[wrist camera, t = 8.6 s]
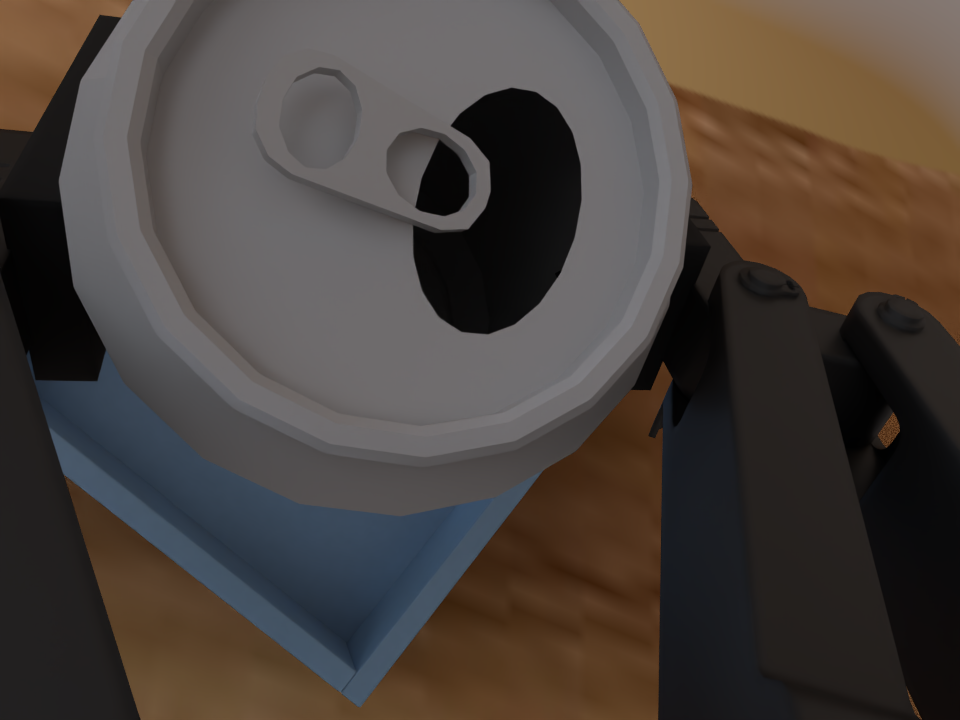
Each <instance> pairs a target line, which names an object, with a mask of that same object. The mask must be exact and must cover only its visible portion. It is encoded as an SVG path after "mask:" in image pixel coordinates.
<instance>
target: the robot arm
mask: <svg viewBox="0 0 960 720" xmlns="http://www.w3.org/2000/svg"><path fill="white" fill-rule="evenodd" d="M120 19H121V18H120V17H112V16H104V15H100V16H99V17H98V19H97V21H96V23H95V24H94V26H93V28H92V30H91V31H90V33H89V35H88V37H87V38H86V40H85V42H84V44H83V45H82V47H81V49H80V51H79V52H78V54H77V56H76V58H75V60H74V61H73V63H72V65H71V67H70V68H69V70H68V72H67V74H66V75H65V77H64V79H63V81H62V82H61V84H60V86H59V88H58V89H57V91H56V93H55V95H54V96H53V98H52V100H51V102H50V103H49V105H48V107H47V109H46V110H45V112H44V114H43V116H42V117H41V119H40V121H39V123H38V124H37V126H36V128H35V130H34V131H33V132H27V131H15V130H4V129H0V720H140V717H139V714H138V711H137V708H136V704H135V701H134V698H133V695H132V692H131V688H130V685H129V682H128V679H127V676H126V672H125V669H124V666H123V663H122V660H121V656H120V653H119V650H118V647H117V644H116V641H115V637H114V634H113V631H112V628H111V625H110V621H109V618H108V615H107V612H106V609H105V605H104V602H103V599H102V596H101V593H100V589H99V586H98V583H97V580H96V577H95V574H94V570H93V567H92V564H91V561H90V558H89V554H88V551H87V548H86V545H85V542H84V538H83V535H82V532H81V529H80V526H79V522H78V519H77V516H76V513H75V510H74V506H73V503H72V500H71V497H70V494H69V491H68V487H67V484H66V481H65V478H64V475H63V471H62V468H61V465H60V462H59V459H58V455H57V452H56V449H55V446H54V443H53V439H52V436H51V433H50V430H49V427H48V424H47V420H46V417H45V414H44V411H43V408H42V404H41V401H40V398H39V395H38V392H37V388H36V385H35V382H34V379H33V376H32V372H31V369H30V366H29V363H28V360H27V357H26V355H27V353H28V350H29V353H30V357H31V362H32V366H33V371H34V375H35V380H42V381H98V377H99V374H100V370H101V367H102V363H103V359H104V356H105V352H106V348H105V346H104V344H103V342H102V340H101V338H100V336H99V335H98V333H97V331H96V329H95V327H94V325H93V323H92V321H91V319H90V317H89V315H88V313H87V312H86V310H85V308H84V306H83V304H82V302H81V300H80V298H79V296H78V294H77V292H76V291H75V289H74V287H73V280H72V272H71V265H70V258H69V251H68V244H67V237H66V230H65V223H64V216H63V208H62V201H61V194H60V187H59V177H60V173H61V168H62V164H63V159H64V155H65V150H66V145H67V141H68V136H69V132H70V127H71V123H72V118H73V113H74V109H75V104H76V100H77V95H78V91H79V86H80V81H81V79H82V78H83V76H84V75H85V73H86V72H87V70H88V68H89V67H90V65H91V64H92V62H93V61H94V59H95V58H96V56H97V55H98V53H99V52H100V50H101V48H102V47H103V45H104V44H105V42H106V41H107V39H108V38H109V36H110V35H111V33H112V32H113V30H114V28H115V27H116V25H117V24H118V22H119V21H120ZM561 271H562V270H560V271H558V272H556V273H555V275H556V277H557V278H558V276H559V275H560V273H561ZM662 362H664V363H665V365H666V367H667V369H668V371H669V372H670V374H671V376H672V378H673V380H672V382H671V384H670V386H669V389H668V391H667V393H666V395H665V398H664V400H663V402H662V405H661V407H660V409H659V411H658V414H657V416H656V418H655V420H654V423H653V425H652V427H651V430H650V433H649V436H650V437H653V438H655V437H656V434H657V432H658V430H659V429H661V428H663V455H662V518H661V581H660V644H659V707H658V720H920V719H919V718H918V717H917V716H916V715H915V713H914V710H913V708H912V705H911V703H910V700H909V696H908V692H907V689H908V691H909V693H910V695H911V697H912V699H913V702H914V704H915V706H916V708H917V710H918V712H919V714H920V716H921V718H922V720H960V346H959V345H958V344H957V343H956V341H955V340H954V339H953V338H952V337H951V335H950V334H949V333H948V332H947V331H946V329H945V328H944V327H943V326H942V325H941V323H940V322H939V321H938V320H936V319H935V318H934V317H933V316H932V315H931V314H930V313H929V312H927V311H926V310H924V309H922V308H921V307H919V306H918V304H917V303H915V302H914V301H911V300H909V299H906V300H905V297H902V296H899V295H890V294H886V293H882V292H867V293H864V294H862V295H859V296H858V298H857V300H856V301H855V303H854V305H853V307H852V308H851V310H850V312H849V313H848V315H847V316H846V315H842V314H838V313H834V312H829V311H825V310H821V309H817V308H813V307H809V305H808V301H807V297H806V295H805V293H804V291H803V289H802V288H801V286H800V285H799V284H797V282H796V281H794V280H793V279H792V278H791V277H789V276H787V275H786V274H784V273H782V272H780V271H778V270H777V269H775V268H772V267H769V266H766V265H763V264H761V263H756V262H750V261H744V260H743V259H742V258H741V257H740V255H739V254H738V253H737V252H736V250H735V249H734V248H733V246H732V245H731V244H730V243H729V241H728V240H727V239H726V238H725V236H724V235H723V234H722V233H721V232H719V229H718V228H717V226H716V225H715V224H714V222H713V221H712V220H709V216H708V215H707V214H706V212H705V211H704V210H703V209H702V207H701V206H700V205H699V204H698V202H697V201H696V200H694V199H693V198H691V200H690V209H689V219H688V228H687V237H686V246H685V255H684V264H683V269H682V271H681V274H680V276H679V278H678V280H677V283H676V285H675V287H674V289H673V292H672V294H671V296H670V304H669V308H668V310H667V312H666V315H665V317H664V319H663V321H662V324H661V326H660V328H659V331H658V333H657V335H656V337H655V340H654V342H653V344H652V346H651V349H650V351H649V353H648V356H647V358H646V360H645V362H644V365H643V367H642V369H641V372H640V374H639V376H638V378H637V381H636V383H635V385H634V386H633V387H632V389H631V390H651V388H652V386H653V383H654V381H655V378H656V376H657V374H658V371H659V369H660V367H661V364H662ZM893 412H894V414H895V415H896V417H897V420H898V422H899V425H900V432H899V433H898V435H897V436H896V438H895V439H894V440H893V442H892V443H891V444H890V445H889V446H888V447H887V448H886V447H885V446H884V445H883V444H882V442H881V440H880V439H879V437H878V433H879V432H880V431H881V429H882V428H883V426H884V425H885V423H886V422H887V420H888V419H889V418H890V416H891V415H892V413H893ZM906 687H907V688H906Z"/></svg>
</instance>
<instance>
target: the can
mask: <svg viewBox="0 0 960 720" xmlns="http://www.w3.org/2000/svg"><path fill="white" fill-rule="evenodd" d="M59 187H60V194H61V201H62V208H63V216H64V223H65V230H66V237H67V244H68V251H69V258H70V265H71V272H72V280H73V287H74V289H75V291H76V292H77V294H78V296H79V298H80V300H81V302H82V304H83V306H84V308H85V310H86V312H87V313H88V315H89V317H90V319H91V321H92V323H93V325H94V327H95V329H96V331H97V333H98V335H99V336H100V338H101V340H102V342H103V344H104V346H105V348H106V350H107V352H108V354H109V356H110V358H111V359H112V361H113V363H114V365H115V367H116V369H117V371H118V373H119V375H120V377H121V379H122V380H123V382H124V384H125V385H126V386H127V387H128V388H129V389H130V390H132V391H133V392H134V393H135V394H136V395H137V396H138V397H139V398H140V399H141V400H142V401H143V402H144V403H145V404H146V405H147V406H148V407H149V408H150V409H152V410H153V411H154V412H155V413H156V414H157V415H158V416H159V417H160V418H161V419H162V420H163V421H164V422H165V423H166V424H167V425H168V426H169V427H170V428H171V429H173V430H174V431H175V432H176V433H177V434H178V435H179V436H180V437H181V438H182V439H183V440H184V441H185V442H186V443H187V444H188V445H189V446H190V447H191V448H192V449H194V450H195V451H196V452H197V453H198V454H199V455H200V456H201V457H202V458H203V459H205V460H207V461H209V462H212V463H214V464H216V465H218V466H220V467H222V468H224V469H226V470H229V471H231V472H233V473H235V474H237V475H239V476H241V477H243V478H245V479H248V480H250V481H252V482H254V483H256V484H258V485H260V486H262V487H265V488H267V489H269V490H271V491H273V492H275V493H277V494H279V495H282V496H284V497H286V498H288V499H290V500H292V501H294V502H296V503H299V504H304V505H312V506H321V507H329V508H337V509H345V510H353V511H362V512H370V513H378V514H386V515H394V516H405V515H410V514H415V513H420V512H425V511H430V510H435V509H440V508H445V507H450V506H455V505H460V504H464V503H469V502H474V501H479V500H484V499H489V498H494V497H497V496H499V495H501V494H502V493H504V492H506V491H508V490H509V489H511V488H513V487H514V486H516V485H518V484H520V483H521V482H523V481H525V480H527V479H528V478H530V477H532V476H534V475H535V474H537V473H539V472H541V471H542V470H544V469H546V468H548V467H549V466H551V465H553V464H554V463H556V462H558V461H560V460H561V459H563V458H565V457H567V456H568V455H570V454H572V453H574V452H575V451H576V450H577V449H578V448H579V447H580V446H581V445H582V444H583V443H584V441H585V440H586V439H587V438H588V437H589V436H590V435H591V434H592V432H593V431H594V430H595V429H596V428H597V427H598V426H599V425H600V423H601V422H602V421H603V420H604V419H605V418H606V417H607V416H608V414H609V413H610V412H611V411H612V410H613V409H614V408H615V407H616V405H617V404H618V403H619V402H620V401H621V400H622V399H623V398H624V396H625V395H626V394H627V393H628V392H629V391H630V390H631V389H632V387H633V386H634V385H635V383H636V381H637V378H638V376H639V374H640V372H641V369H642V367H643V365H644V362H645V360H646V358H647V356H648V353H649V351H650V349H651V346H652V344H653V342H654V340H655V337H656V335H657V333H658V331H659V328H660V326H661V324H662V321H663V319H664V317H665V315H666V312H667V310H668V308H669V304H670V296H671V294H672V292H673V289H674V287H675V285H676V283H677V280H678V278H679V276H680V274H681V271H682V269H683V264H684V255H685V246H686V237H687V228H688V219H689V209H690V200H691V191H692V181H691V175H690V170H689V164H688V158H687V153H686V147H685V142H684V136H683V131H682V125H681V120H680V114H679V109H678V103H677V100H676V98H675V96H674V94H673V92H672V90H671V88H670V86H669V84H668V82H667V80H666V77H665V76H664V73H663V71H662V69H661V67H660V65H659V63H658V61H657V59H656V57H655V55H654V53H653V51H652V49H651V47H650V45H649V43H648V40H647V39H646V37H645V34H644V32H643V30H642V28H641V26H640V24H639V23H638V22H637V21H636V19H635V18H634V17H633V16H632V15H631V14H630V13H629V11H628V10H627V9H626V8H625V7H624V6H623V5H622V3H621V2H620V1H619V0H133V1H132V2H131V4H130V5H129V7H128V8H127V10H126V12H125V13H124V15H123V16H122V18H121V19H120V21H119V22H118V24H117V25H116V27H115V28H114V30H113V32H112V33H111V35H110V36H109V38H108V39H107V41H106V42H105V44H104V45H103V47H102V48H101V50H100V52H99V53H98V55H97V56H96V58H95V59H94V61H93V62H92V64H91V65H90V67H89V68H88V70H87V72H86V73H85V75H84V76H83V78H82V79H81V81H80V86H79V91H78V95H77V100H76V104H75V109H74V113H73V118H72V123H71V127H70V132H69V136H68V141H67V145H66V150H65V155H64V159H63V164H62V168H61V173H60V177H59ZM560 270H562V271H561V273H560V275H559V276H558V278H557V277H556V275H555V273H556V272H558V271H560Z"/></svg>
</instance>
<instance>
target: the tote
mask: <svg viewBox="0 0 960 720" xmlns="http://www.w3.org/2000/svg"><path fill="white" fill-rule="evenodd" d="M26 357H27V360H28V363H29V366H30V369H31V372H32V376H33V379H34V382H35V385H36V388H37V392H38V395H39V398H40V401H41V404H42V408H43V411H44V414H45V417H46V420H47V424H48V427H49V430H50V433H51V436H52V439H53V443H54V446H55V449H56V452H57V455H58V459H59V462H60V465H61V468H62V471H63V474H64V475H65V476H67V477H68V478H69V479H70V480H72V481H73V482H74V483H75V484H77V485H78V486H79V487H80V488H82V489H83V490H84V491H86V492H87V493H88V494H89V495H91V496H92V497H93V498H94V499H96V500H97V501H98V502H99V503H101V504H102V505H103V506H105V507H106V508H107V509H108V510H110V511H111V512H112V513H113V514H115V515H116V516H117V517H118V518H120V519H121V520H122V521H124V522H125V523H126V524H127V525H129V526H130V527H131V528H132V529H134V530H135V531H136V532H137V533H139V534H140V535H141V536H142V537H144V538H145V539H146V540H148V541H149V542H150V543H151V544H153V545H154V546H155V547H156V548H158V549H159V550H160V551H161V552H163V553H164V554H165V555H167V556H168V557H169V558H170V559H172V560H173V561H174V562H175V563H177V564H178V565H179V566H180V567H182V568H183V569H184V570H186V571H187V572H188V573H189V574H191V575H192V576H193V577H194V578H196V579H197V580H198V581H199V582H201V583H202V584H203V585H205V586H206V587H207V588H208V589H210V590H211V591H212V592H213V593H215V594H216V595H217V596H218V597H220V598H221V599H222V600H223V601H225V602H226V603H227V604H229V605H230V606H231V607H232V608H234V609H235V610H236V611H237V612H239V613H240V614H241V615H242V616H244V617H245V618H246V619H248V620H249V621H250V622H251V623H253V624H254V625H255V626H256V627H258V628H259V629H260V630H261V631H263V632H264V633H265V634H267V635H268V636H269V637H270V638H272V639H273V640H274V641H275V642H277V643H278V644H279V645H280V646H282V647H283V648H284V649H286V650H287V651H288V652H289V653H291V654H292V655H293V656H294V657H296V658H297V659H298V660H299V661H301V662H302V663H303V664H304V665H306V666H307V667H308V668H310V669H311V670H312V671H313V672H315V673H316V674H317V675H318V676H320V677H321V678H322V679H323V680H325V681H326V682H327V683H329V684H330V685H331V686H332V687H334V688H335V689H336V690H337V691H339V692H341V693H342V695H344V696H345V697H346V698H348V699H349V700H350V701H351V702H353V703H354V704H355V705H356V706H358V707H361V706H362V704H363V703H364V702H365V701H366V699H367V698H368V697H369V695H370V694H371V693H372V692H373V690H374V689H375V688H376V686H377V685H378V684H379V682H380V681H381V680H382V679H383V677H384V676H385V675H386V673H387V672H388V671H389V670H390V668H391V667H392V666H393V664H394V663H395V662H396V660H397V659H398V658H399V657H400V655H401V654H402V653H403V651H404V650H405V649H406V648H407V646H408V645H409V644H410V642H411V641H412V640H413V638H414V637H415V636H416V635H417V633H418V632H419V631H420V629H421V628H422V627H423V626H424V624H425V623H426V622H427V620H428V619H429V618H430V616H431V615H432V614H433V613H434V611H435V610H436V609H437V607H438V606H439V605H440V604H441V602H442V601H443V600H444V598H445V597H446V596H447V594H448V593H449V592H450V591H451V589H452V588H453V587H454V585H455V584H456V583H457V582H458V580H459V579H460V578H461V576H462V575H463V574H464V572H465V571H466V570H467V569H468V567H469V566H470V565H471V563H472V562H473V561H474V560H475V558H476V557H477V556H478V554H479V553H480V552H481V550H482V549H483V548H484V547H485V545H486V544H487V543H488V541H489V540H490V539H491V538H492V536H493V535H494V534H495V532H496V531H497V530H498V528H499V527H500V526H501V525H502V523H503V522H504V521H505V519H506V518H507V517H508V516H509V514H510V513H511V512H512V510H513V509H514V508H515V506H516V505H517V504H518V503H519V501H520V500H521V499H522V497H523V496H524V495H525V494H526V492H527V491H528V490H529V488H530V487H531V486H532V484H533V483H534V482H535V481H536V479H537V478H538V477H539V475H540V474H541V473H542V472H543V470H542V471H541V472H539V473H537V474H535V475H534V476H532V477H530V478H528V479H527V480H525V481H523V482H521V483H520V484H518V485H516V486H514V487H513V488H511V489H509V490H508V491H506V492H504V493H502V494H501V495H499V496H497V497H494V498H489V499H484V500H479V501H474V502H469V503H464V504H460V505H455V506H450V507H445V508H440V509H435V510H430V511H425V512H420V513H415V514H410V515H405V516H394V515H386V514H378V513H370V512H362V511H353V510H345V509H337V508H329V507H321V506H312V505H304V504H299V503H296V502H294V501H292V500H290V499H288V498H286V497H284V496H282V495H279V494H277V493H275V492H273V491H271V490H269V489H267V488H265V487H262V486H260V485H258V484H256V483H254V482H252V481H250V480H248V479H245V478H243V477H241V476H239V475H237V474H235V473H233V472H231V471H229V470H226V469H224V468H222V467H220V466H218V465H216V464H214V463H212V462H209V461H207V460H205V459H203V458H202V457H201V456H200V455H199V454H198V453H197V452H196V451H195V450H194V449H192V448H191V447H190V446H189V445H188V444H187V443H186V442H185V441H184V440H183V439H182V438H181V437H180V436H179V435H178V434H177V433H176V432H175V431H174V430H173V429H171V428H170V427H169V426H168V425H167V424H166V423H165V422H164V421H163V420H162V419H161V418H160V417H159V416H158V415H157V414H156V413H155V412H154V411H153V410H152V409H150V408H149V407H148V406H147V405H146V404H145V403H144V402H143V401H142V400H141V399H140V398H139V397H138V396H137V395H136V394H135V393H134V392H133V391H132V390H130V389H129V388H128V387H127V386H126V385H125V384H124V382H123V380H122V379H121V377H120V375H119V373H118V371H117V369H116V367H115V365H114V363H113V361H112V359H111V358H110V356H109V354H108V352H107V350H106V352H105V356H104V359H103V363H102V367H101V370H100V374H99V377H98V381H42V380H35V375H34V371H33V366H32V362H31V357H30V353H29V350H28V353H27V355H26Z"/></svg>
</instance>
